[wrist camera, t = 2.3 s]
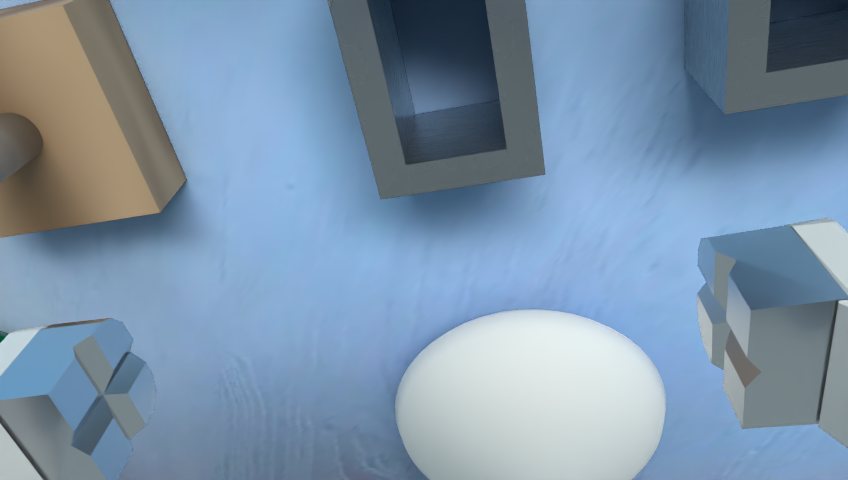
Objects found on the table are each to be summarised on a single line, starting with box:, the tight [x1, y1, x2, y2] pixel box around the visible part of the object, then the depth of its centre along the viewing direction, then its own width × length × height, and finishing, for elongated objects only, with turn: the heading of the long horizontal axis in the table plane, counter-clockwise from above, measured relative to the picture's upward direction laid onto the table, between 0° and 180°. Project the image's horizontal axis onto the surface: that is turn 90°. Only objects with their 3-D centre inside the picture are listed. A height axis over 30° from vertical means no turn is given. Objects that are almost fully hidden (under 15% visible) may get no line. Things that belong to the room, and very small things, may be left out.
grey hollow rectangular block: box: [328, 0, 545, 199], centre depth 20 cm, size 7×5×4 cm
